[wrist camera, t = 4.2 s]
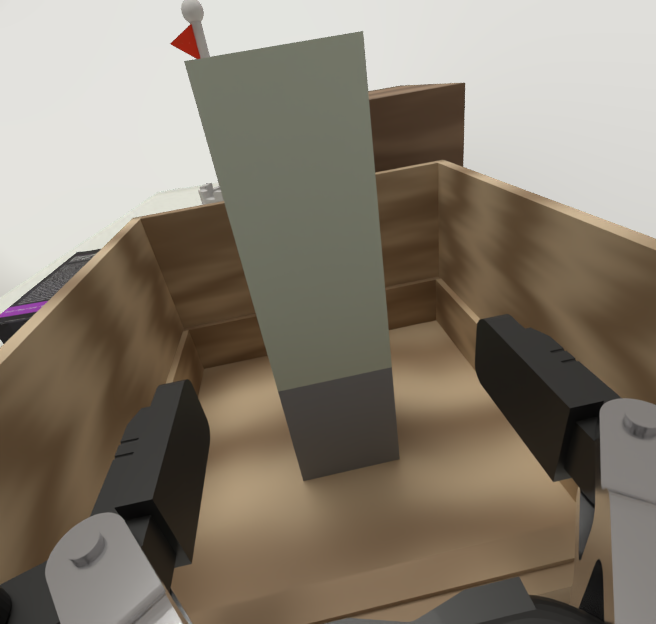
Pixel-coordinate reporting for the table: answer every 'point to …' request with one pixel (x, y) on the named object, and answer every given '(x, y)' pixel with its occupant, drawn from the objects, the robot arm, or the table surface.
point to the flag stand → (196, 47)
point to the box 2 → (308, 237)
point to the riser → (417, 125)
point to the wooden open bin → (270, 423)
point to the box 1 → (41, 294)
